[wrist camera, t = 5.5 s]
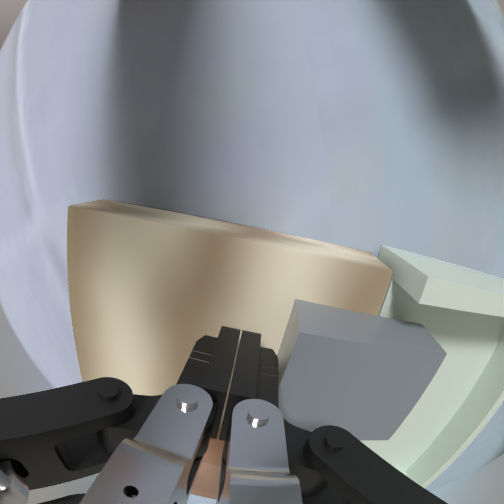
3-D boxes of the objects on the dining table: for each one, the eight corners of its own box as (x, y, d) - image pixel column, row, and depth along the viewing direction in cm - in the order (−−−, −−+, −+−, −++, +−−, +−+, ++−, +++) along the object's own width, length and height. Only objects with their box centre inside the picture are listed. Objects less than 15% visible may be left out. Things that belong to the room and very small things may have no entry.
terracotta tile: (263, 437, 13) (260, 472, 10) (247, 474, 14) (243, 503, 12) (156, 412, 13) (141, 444, 10) (159, 454, 14) (149, 481, 12)
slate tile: (421, 323, 10) (447, 353, 8) (376, 405, 12) (388, 439, 9) (295, 298, 10) (299, 331, 8) (263, 391, 12) (260, 431, 9)
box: (507, 279, 12) (552, 306, 8) (402, 458, 17) (414, 496, 12) (381, 244, 13) (428, 276, 8) (289, 461, 17) (289, 509, 13)
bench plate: (370, 252, 13) (393, 271, 10) (284, 458, 17) (284, 487, 14) (103, 199, 13) (68, 206, 10) (115, 415, 18) (99, 439, 15)
